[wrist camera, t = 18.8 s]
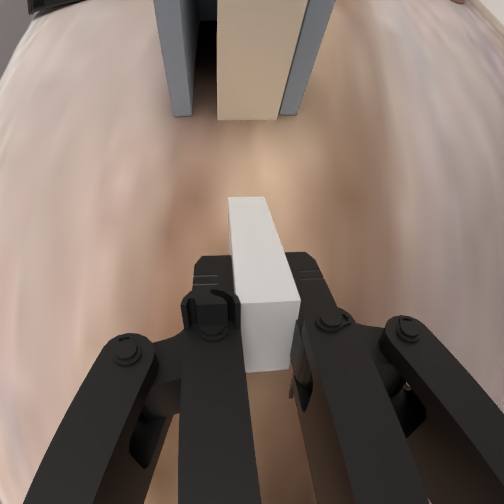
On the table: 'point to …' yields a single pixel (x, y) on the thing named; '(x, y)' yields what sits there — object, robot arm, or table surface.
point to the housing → (205, 9)
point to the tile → (255, 55)
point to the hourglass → (459, 1)
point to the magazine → (45, 4)
